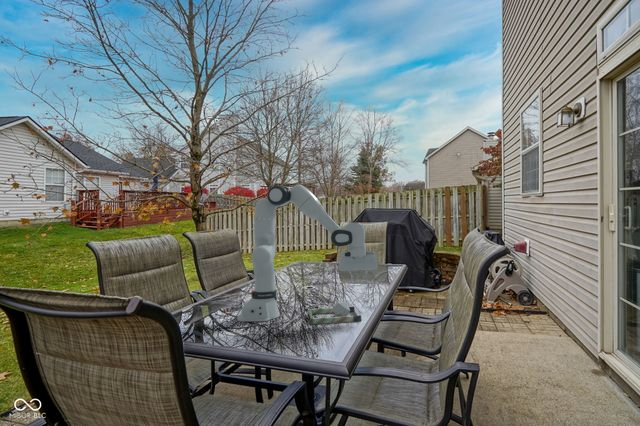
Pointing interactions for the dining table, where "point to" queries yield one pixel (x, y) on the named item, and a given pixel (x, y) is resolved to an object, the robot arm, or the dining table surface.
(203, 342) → the dining table surface
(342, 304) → the die
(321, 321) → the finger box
